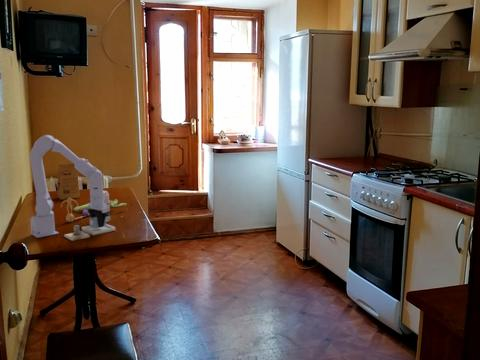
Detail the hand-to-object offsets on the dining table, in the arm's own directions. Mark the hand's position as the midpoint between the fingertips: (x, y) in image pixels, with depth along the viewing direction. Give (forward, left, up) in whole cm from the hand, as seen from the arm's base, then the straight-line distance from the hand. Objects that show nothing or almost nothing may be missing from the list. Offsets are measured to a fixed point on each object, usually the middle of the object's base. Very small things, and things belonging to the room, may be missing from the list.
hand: (98, 225), depth 210 cm
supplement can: (+9, +14, -3) cm, 17 cm away
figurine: (-2, +25, -3) cm, 25 cm away
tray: (0, 0, -2) cm, 2 cm away
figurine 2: (+20, +36, -3) cm, 41 cm away
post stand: (-11, -3, -2) cm, 12 cm away
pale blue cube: (0, 0, 0) cm, 0 cm away
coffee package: (+21, +81, -3) cm, 84 cm away
